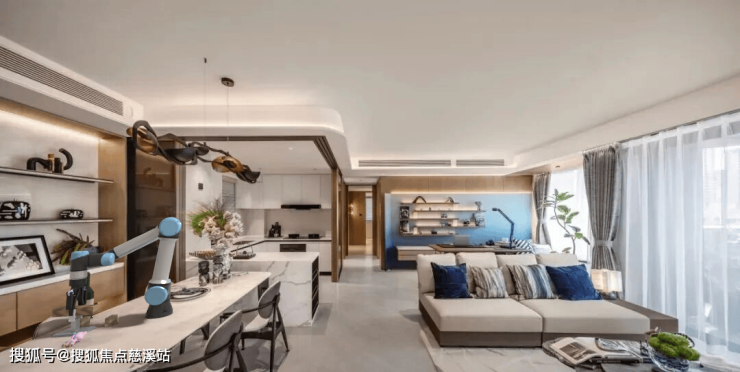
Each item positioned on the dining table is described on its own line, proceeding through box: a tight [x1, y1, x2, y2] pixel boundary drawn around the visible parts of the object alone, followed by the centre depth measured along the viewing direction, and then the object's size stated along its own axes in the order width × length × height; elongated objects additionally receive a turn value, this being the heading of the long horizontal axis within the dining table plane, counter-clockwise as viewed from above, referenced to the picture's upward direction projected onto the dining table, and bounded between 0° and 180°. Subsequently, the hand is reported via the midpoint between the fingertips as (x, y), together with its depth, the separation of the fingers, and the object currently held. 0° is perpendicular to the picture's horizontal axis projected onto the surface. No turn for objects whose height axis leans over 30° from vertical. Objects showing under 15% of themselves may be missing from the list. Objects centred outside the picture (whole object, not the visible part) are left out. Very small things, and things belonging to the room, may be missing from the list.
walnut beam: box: [51, 303, 100, 318], centre depth 178 cm, size 20×5×4 cm, turn 100°
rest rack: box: [80, 313, 119, 328], centre depth 188 cm, size 18×7×5 cm, turn 100°
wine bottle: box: [75, 271, 95, 320], centre depth 202 cm, size 8×8×30 cm
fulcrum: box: [52, 317, 97, 338], centre depth 177 cm, size 14×11×8 cm
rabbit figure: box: [62, 331, 88, 348], centre depth 163 cm, size 6×6×15 cm
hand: (75, 319), depth 178 cm, fingers closed on walnut beam, 5 cm apart
